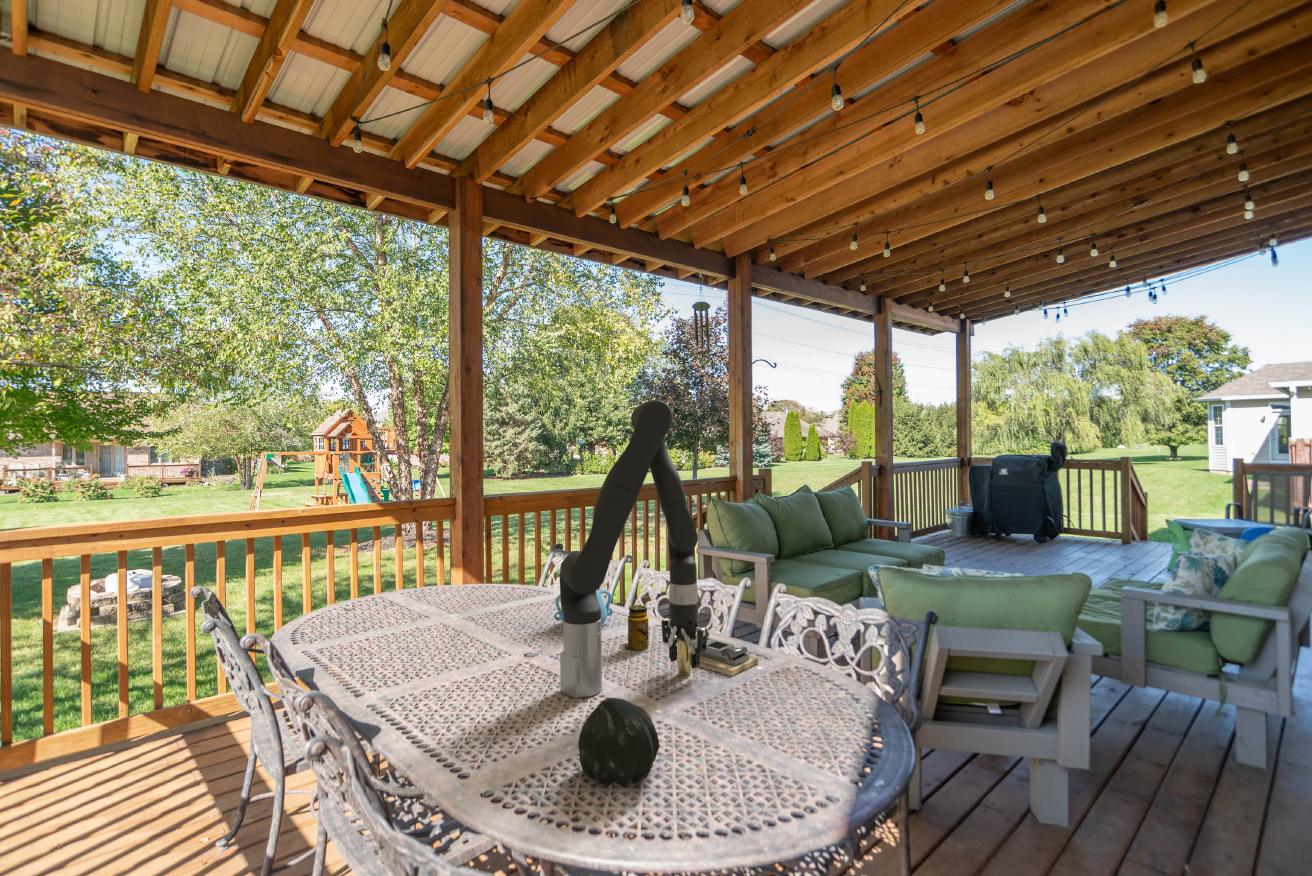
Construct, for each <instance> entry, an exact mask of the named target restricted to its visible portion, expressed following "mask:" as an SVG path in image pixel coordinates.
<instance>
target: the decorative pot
mask: <svg viewBox="0 0 1312 876" xmlns="http://www.w3.org/2000/svg"><path fill="white" fill-rule="evenodd" d="M602 594H606V595H607V602H606V603H605V600H604V597H603V595H602ZM596 596H597V600H598V603H599V605H600V607H601V627H602V626H603V625H604V624H605V622H606V620H607V618H608V617H609V616H611V615H613V613H614V610H613V608H612V607H610V605H611V602H612V594H611V592H610V591H608V590H606V589H601V590H599V589H598V590H596ZM559 600H560V594H558V595H557V596H556V597H555V600H554V604H555V607H556V610H557V612H555V613H554V615H553V618H554V620H556V621H559V622H560V621H562V622H563V611H562V608H561V605H560V603H559ZM558 615H559V617H558Z"/></svg>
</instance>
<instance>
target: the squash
mask: <svg viewBox="0 0 1312 876" xmlns="http://www.w3.org/2000/svg"><path fill="white" fill-rule="evenodd" d="M577 743H578V745H577V747H578V752H579V763H580V767H581V770H582V773H583V774H584V775H585V776H586V777H587V778H589V779H590V780H594V781H595V780H596V781H597V783H598V784H600V785H601V786H610V785H612V784H614V783H615V782H616V784H618V785H619V786H620V787H628V786H629V785H630V784H631V783H632V781H635V782H641V781H643V780H644V779H646V778H647V777H648V776H649V775H650V772H651V770H652V768H653V763H654V762H655V760H656V758H657V755H658V751H659V749H660V740H659V735H658V731H657V729H656V726H655V725H654V723H653V719H652V717H651V716H650V714H649V712H648V711H646V710H645V709H644V708H643V707H640V706H639V705H636V704H633V703H632V702H630V701H628V700H626V699H624V698H618V697H617V698H616V697H609V698H605V699H603V700H602V701H601V702H600V703H599V704H598V705H597V706H596V707H595V709H593V710H592V711H591V712H590V714H589V715H588V716H587V718H586V720H585V722H584V724H583V726H582V727H581V730H580V733H579V738H578V742H577Z"/></svg>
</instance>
